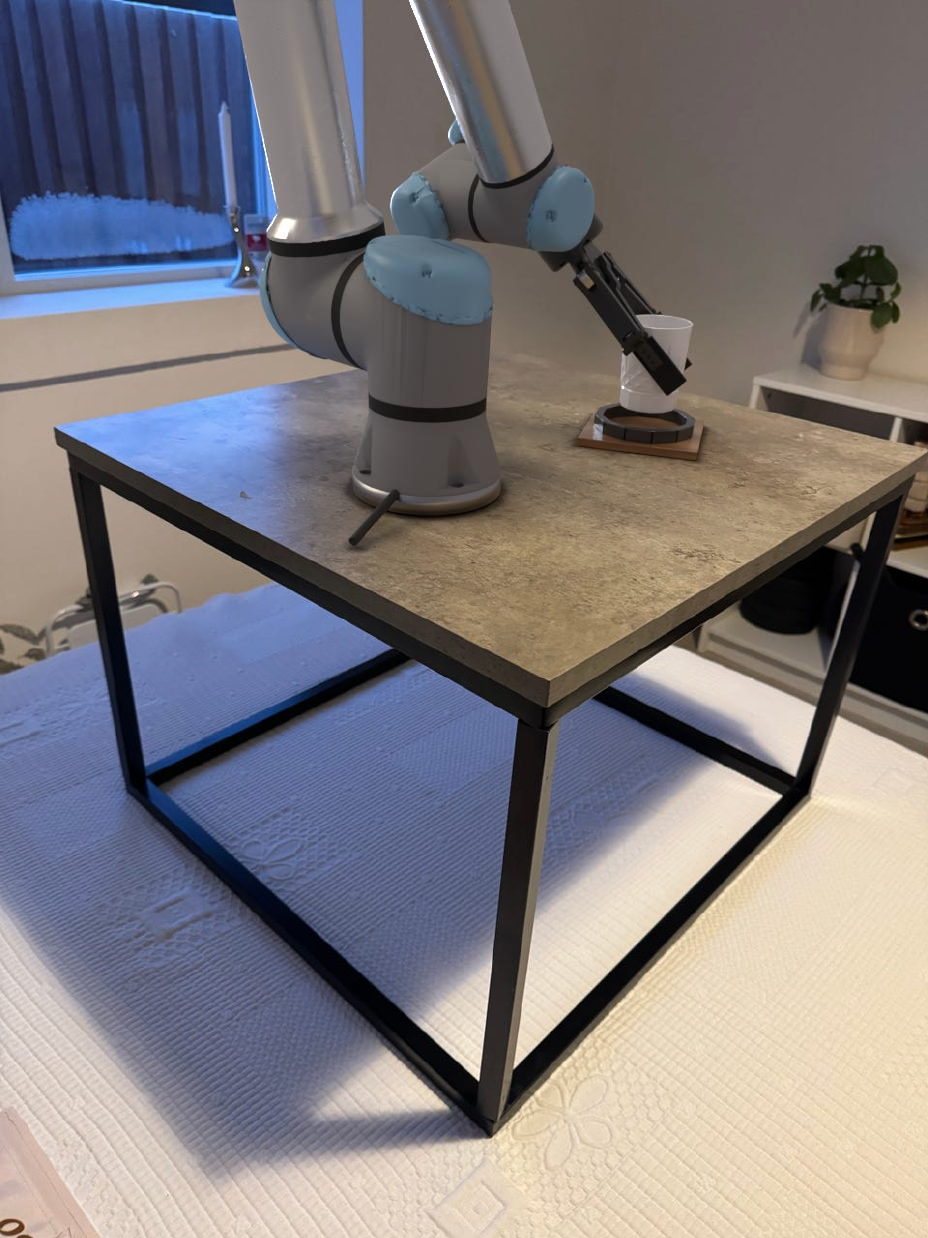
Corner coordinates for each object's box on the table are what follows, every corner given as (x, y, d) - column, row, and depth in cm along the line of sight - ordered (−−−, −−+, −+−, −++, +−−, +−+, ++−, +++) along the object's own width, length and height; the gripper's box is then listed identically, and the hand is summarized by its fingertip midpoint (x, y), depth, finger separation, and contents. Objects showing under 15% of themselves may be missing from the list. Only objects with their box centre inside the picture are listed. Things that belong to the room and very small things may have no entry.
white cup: (646, 393, 110) (657, 311, 105) (693, 409, 104) (707, 324, 99) (601, 402, 106) (610, 318, 101) (648, 419, 100) (660, 331, 95)
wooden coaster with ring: (695, 460, 99) (699, 439, 98) (576, 445, 103) (578, 425, 101) (703, 427, 111) (706, 407, 110) (596, 414, 114) (598, 395, 113)
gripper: (565, 205, 88) (700, 380, 92) (598, 193, 105) (711, 341, 109) (512, 257, 92) (644, 422, 96) (552, 237, 109) (663, 378, 113)
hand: (679, 379), depth 102 cm, fingers closed on white cup, 8 cm apart
